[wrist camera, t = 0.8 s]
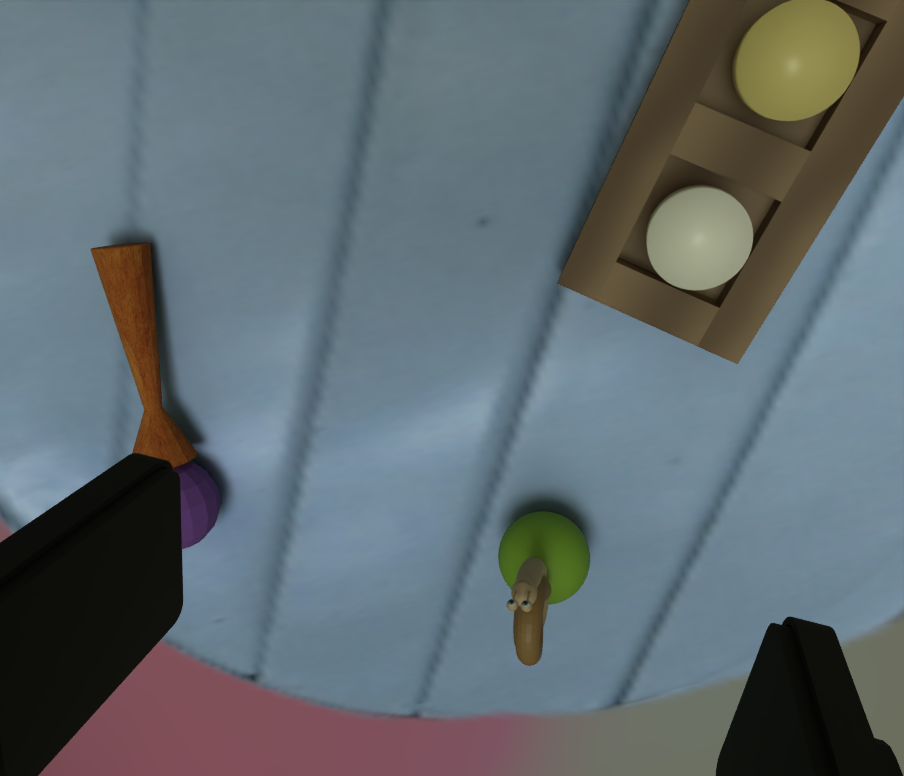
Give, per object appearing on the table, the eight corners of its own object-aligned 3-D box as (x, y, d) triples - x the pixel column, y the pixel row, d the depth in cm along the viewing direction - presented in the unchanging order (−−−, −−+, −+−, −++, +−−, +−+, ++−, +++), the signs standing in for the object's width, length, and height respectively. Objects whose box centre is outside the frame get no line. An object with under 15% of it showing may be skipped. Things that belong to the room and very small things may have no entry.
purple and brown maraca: (146, 247, 41) (207, 565, 46) (188, 238, 46) (238, 522, 52) (43, 254, 41) (116, 569, 46) (98, 245, 47) (157, 526, 52)
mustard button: (712, 95, 32) (716, 95, 31) (767, -15, 30) (775, -21, 29) (808, 136, 32) (817, 138, 30) (871, 28, 30) (884, 24, 28)
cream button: (629, 258, 36) (629, 265, 34) (674, 168, 34) (677, 172, 32) (715, 296, 35) (720, 306, 34) (766, 208, 33) (773, 214, 32)
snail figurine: (591, 482, 44) (577, 608, 33) (592, 571, 46) (580, 717, 35) (502, 479, 45) (461, 599, 34) (508, 566, 47) (471, 705, 36)
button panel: (561, 272, 39) (557, 283, 37) (839, -321, 28) (857, -357, 26) (731, 348, 39) (737, 364, 37) (1082, -228, 28) (1122, -256, 26)
